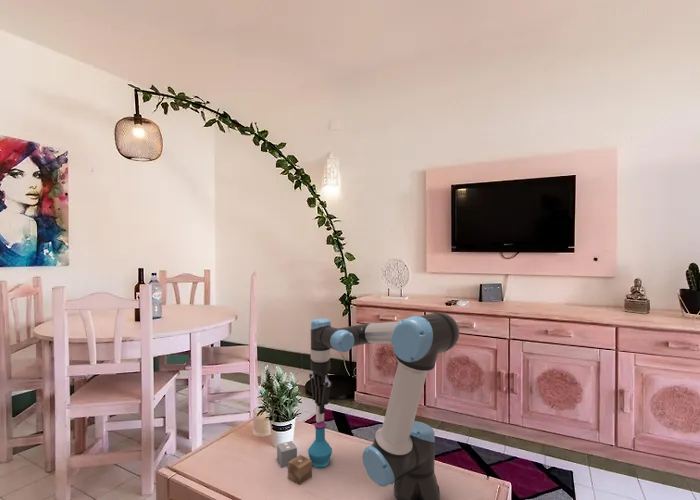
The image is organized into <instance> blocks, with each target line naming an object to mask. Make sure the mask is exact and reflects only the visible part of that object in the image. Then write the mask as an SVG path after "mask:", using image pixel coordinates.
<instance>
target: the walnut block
mask: <svg viewBox="0 0 700 500" xmlns="http://www.w3.org/2000/svg"><path fill="white" fill-rule="evenodd" d="M312 477H313V465H312V460H310V458H309V457H308V458H307V457H305V456H303V455H301V454H299V455H297V457H296V458H294V459H292V460H291V461H289V462H288V466H287V479H288V480H289V481H292V482H294V483H295V484H297V485H299V486H301V485H302V484H304V483H305V482H307V481H309V480H310V479H311V478H312Z"/></svg>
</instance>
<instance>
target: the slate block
mask: <svg viewBox="0 0 700 500" xmlns="http://www.w3.org/2000/svg"><path fill="white" fill-rule="evenodd" d="M297 456H298V447H297V446H296V444H295V443H294V442H293V441H292V440H290V441H286V442H281V443H277V444H276V460H277V463H278V465H279V466H280V468H285V467H288V462H289V461H291V460H292V459H294V458H296V457H297Z"/></svg>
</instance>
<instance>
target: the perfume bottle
mask: <svg viewBox="0 0 700 500" xmlns="http://www.w3.org/2000/svg"><path fill="white" fill-rule="evenodd" d="M313 426H314V429H315V439H314V440H313V442H312V444H310V446H309V448H308V449H307V453H308V458H309V459H310V460H312V467H315V468H324V467H326V466H328V465H329V461H330V459H331V456H332V453H333V448H332V447H331V445H330V443H329V442H328V441H327V440H326V435H325V434H326V431H325V430H326V427H327V423H326V422H325V421H321V422H317V421H316V422H315V423H314V425H313Z"/></svg>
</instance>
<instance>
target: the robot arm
mask: <svg viewBox="0 0 700 500" xmlns="http://www.w3.org/2000/svg"><path fill="white" fill-rule="evenodd" d="M331 323H332V321H331V320H330V319H329V318H323V317H322V318H320V317H319V318H314V319H312V320H311V323H310V371H312V373H309V374H308V376H309V379H310V386H311V387H310V388H311V395H312V397H311V398H312V401H314V403H315V421H316V422H321V421H323V422H325V406H326V405H329V401H330V400H329V399H330V394H331V387H332V385H333V381H332V380H331V381H330V380H329V371H331V370H330V369H331V350H335V351H336V352H342V353H347V352H350V350H351V349H353V347H357V346H361V345H362V346H363V345H375V344H376V345H378V344H380V345H382V344H385V345H386V344H391V345H392V346H393V347H392V350H393V352H394V357H395V360H396V361H397V368H396V372H395V374H394V375H395V376H394V379H393V384H392V387H391V391H390V392H391V393H390V396H389V400H388V403H387V408H386V412H385V416H384V420H383V424H382V426H381V427H379V428H378V429H377V430H376V432H375V435H374V438H373V443H372V444H371V445H367V447H366V448H364V450H363V453H362V461H363V463H362V464H363V466H364V468H365V471H366V473H367V475H368V477H369V478H370V479H371V480H372V481H373V483H374V484H375V485H377V486H379V487H388V486H389V485H393V495H394V497H395V499H396V500H440V498H441V495H440V492H441V491H440V486H439V484H438V480H437V477H436V473H435V460H436V459H435V455H436V454H435V452H436V451H435V447H436V446H435V443H436V439H435V432H434V429H433V428H432V427H431V426H430V425H429V424H427V423H425V422H421V421H417V420H415V419H416V415H417V412H418V407H419V404H420V400H421V397H422V395H423V394H422V393H423V389H424V385H425V383H426V378H427V374H428V372H431V371H433V370H434V369H435V366H436V363H437V359H438V356H439V354H442V353H444V352H448V351H450V350H451V349H453V348H454V347H455V346H456V345H457V342H458V341H459V338H460V327H459V324H458V323H457V322H456V320H455V319H454V317H452V316H451V315H449V314H447V313H443V312H433V313H427V314H422V315H413V316H409V317H407V318H404V319H401V320H399V321H387V322H375V323H374V322H373V323H372V322H366V323H362V324H357V325H351V326H345V327H339V328H337V327H333V326H332V324H331Z"/></svg>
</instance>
